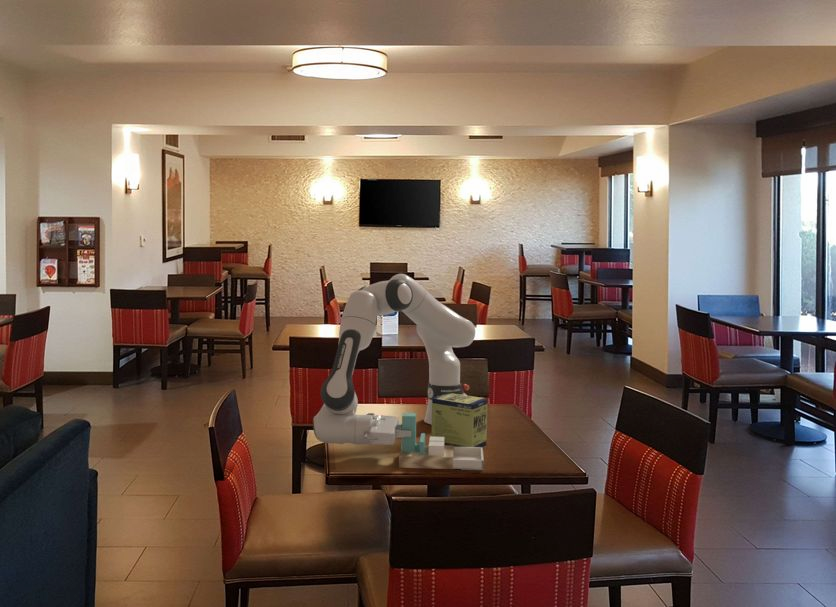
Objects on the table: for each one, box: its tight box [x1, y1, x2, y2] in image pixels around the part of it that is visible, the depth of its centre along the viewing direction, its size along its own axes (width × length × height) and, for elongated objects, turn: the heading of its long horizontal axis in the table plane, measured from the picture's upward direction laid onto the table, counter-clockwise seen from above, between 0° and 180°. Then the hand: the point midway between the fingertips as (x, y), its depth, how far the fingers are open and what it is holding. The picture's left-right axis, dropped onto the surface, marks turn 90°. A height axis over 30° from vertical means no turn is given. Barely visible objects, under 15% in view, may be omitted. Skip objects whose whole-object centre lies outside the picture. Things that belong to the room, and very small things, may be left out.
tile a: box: [428, 436, 445, 443], centre depth 258 cm, size 4×4×3 cm
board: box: [398, 444, 453, 470], centre depth 255 cm, size 16×13×4 cm
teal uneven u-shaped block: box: [401, 412, 426, 455], centre depth 255 cm, size 7×10×11 cm
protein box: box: [430, 393, 488, 448], centre depth 274 cm, size 10×16×16 cm
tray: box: [452, 446, 485, 471], centre depth 255 cm, size 9×14×3 cm, turn 177°
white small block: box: [428, 442, 444, 456], centre depth 252 cm, size 4×4×3 cm
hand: (411, 430), depth 255 cm, fingers closed on teal uneven u-shaped block, 4 cm apart
